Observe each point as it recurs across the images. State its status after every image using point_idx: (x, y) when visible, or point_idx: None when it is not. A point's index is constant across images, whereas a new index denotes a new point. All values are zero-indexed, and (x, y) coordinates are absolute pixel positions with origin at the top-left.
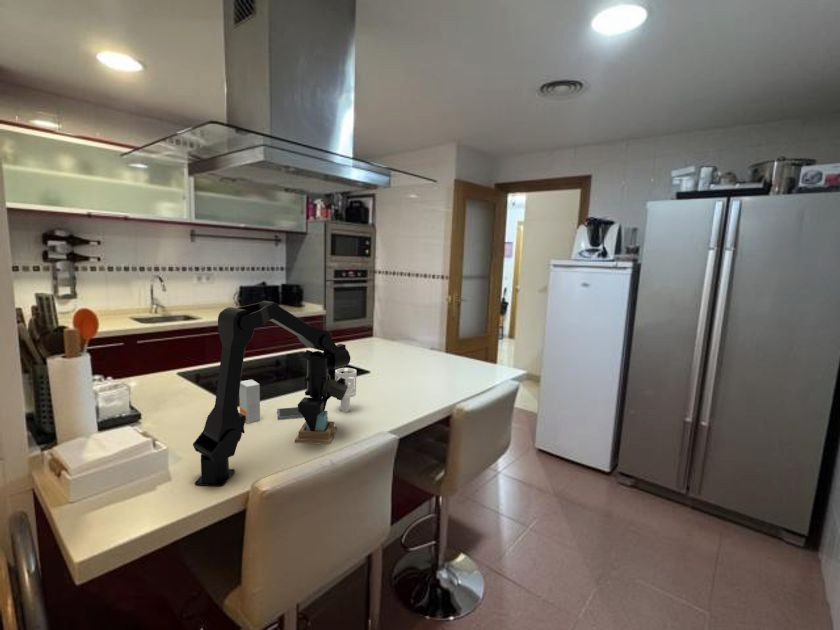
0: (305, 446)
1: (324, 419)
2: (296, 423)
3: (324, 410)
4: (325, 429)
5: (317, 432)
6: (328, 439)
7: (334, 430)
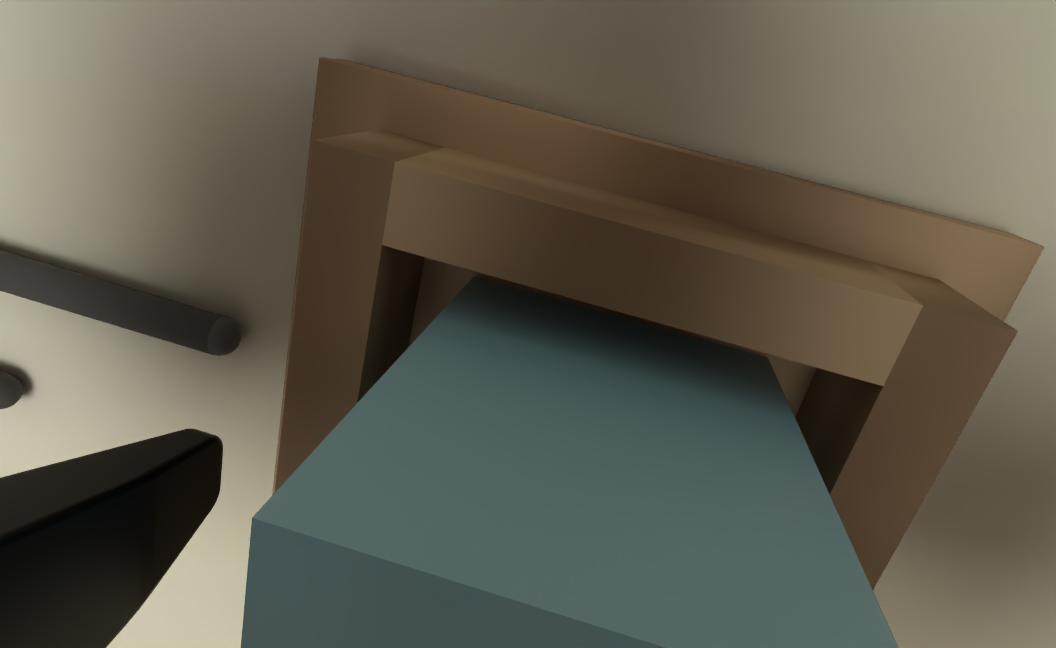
0: (936, 613)
1: (798, 584)
2: (154, 638)
3: (11, 484)
4: (632, 353)
5: (883, 557)
6: (943, 282)
7: (502, 133)
